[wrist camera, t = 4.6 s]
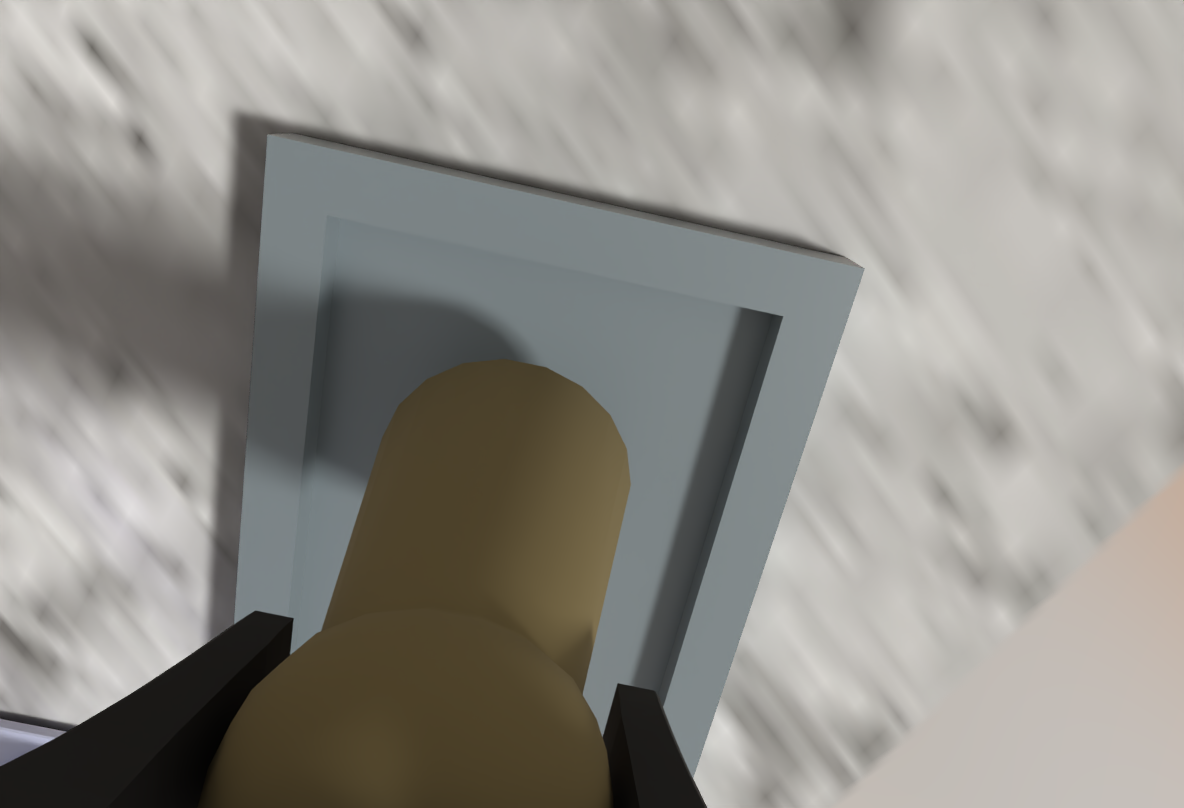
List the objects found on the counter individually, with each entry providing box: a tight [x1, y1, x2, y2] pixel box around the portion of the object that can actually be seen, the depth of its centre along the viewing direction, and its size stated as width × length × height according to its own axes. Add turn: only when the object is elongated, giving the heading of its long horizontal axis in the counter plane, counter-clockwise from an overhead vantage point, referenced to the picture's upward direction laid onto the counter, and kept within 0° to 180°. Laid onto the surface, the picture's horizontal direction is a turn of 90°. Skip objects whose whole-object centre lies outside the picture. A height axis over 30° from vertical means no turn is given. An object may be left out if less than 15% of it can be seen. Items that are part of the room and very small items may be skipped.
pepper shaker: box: [197, 359, 631, 808], centre depth 14 cm, size 6×6×11 cm
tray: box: [234, 133, 864, 778], centre depth 22 cm, size 20×14×2 cm
